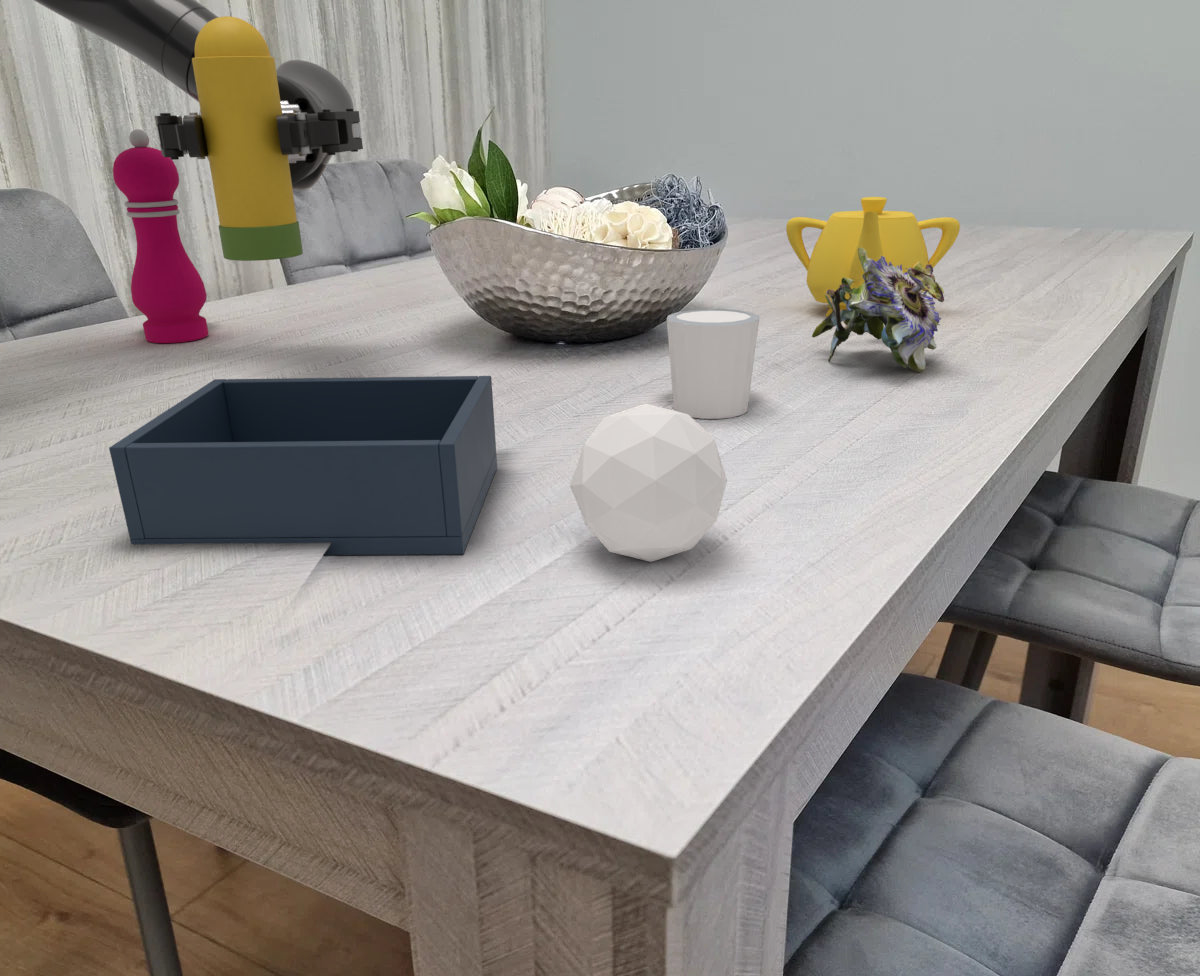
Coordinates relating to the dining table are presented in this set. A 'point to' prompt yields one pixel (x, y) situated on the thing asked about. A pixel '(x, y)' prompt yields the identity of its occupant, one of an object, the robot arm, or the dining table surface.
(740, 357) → the shot glass
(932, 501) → the dining table surface
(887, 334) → the passion flower
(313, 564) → the dining table surface
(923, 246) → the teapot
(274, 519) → the dark blue open box
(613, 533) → the geometric ball
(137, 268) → the pepper mill
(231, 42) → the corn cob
